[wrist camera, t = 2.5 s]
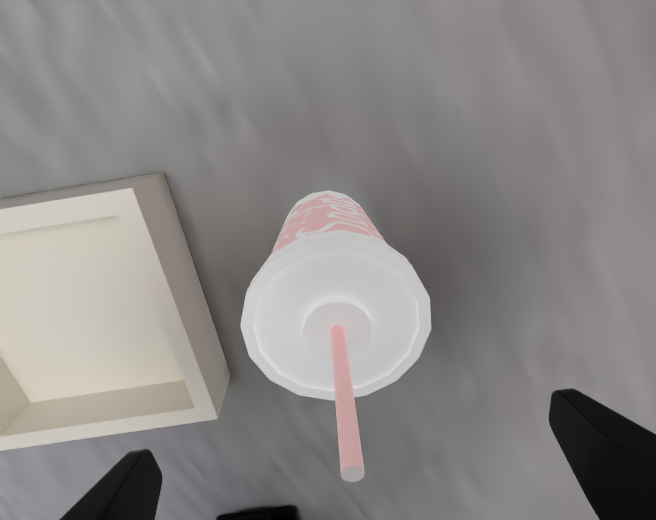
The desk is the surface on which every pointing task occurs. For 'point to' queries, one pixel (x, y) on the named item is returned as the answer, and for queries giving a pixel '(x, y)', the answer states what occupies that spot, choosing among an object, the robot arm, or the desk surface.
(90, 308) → the tray
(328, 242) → the beverage cup
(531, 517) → the desk surface
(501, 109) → the desk surface
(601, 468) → the robot arm
